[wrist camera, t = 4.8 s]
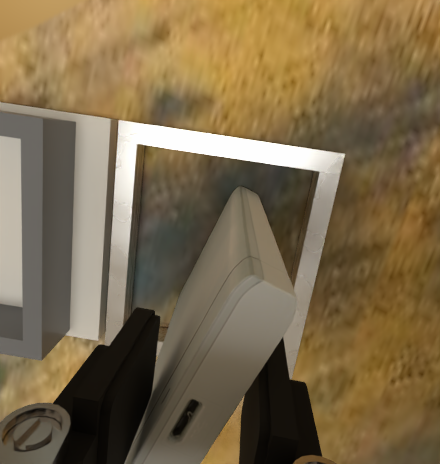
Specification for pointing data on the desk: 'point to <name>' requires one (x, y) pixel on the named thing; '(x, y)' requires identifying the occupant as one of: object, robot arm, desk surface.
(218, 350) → the hard drive
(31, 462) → the robot arm
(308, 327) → the desk surface
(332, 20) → the desk surface
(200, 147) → the rectangular frame tray
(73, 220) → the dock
